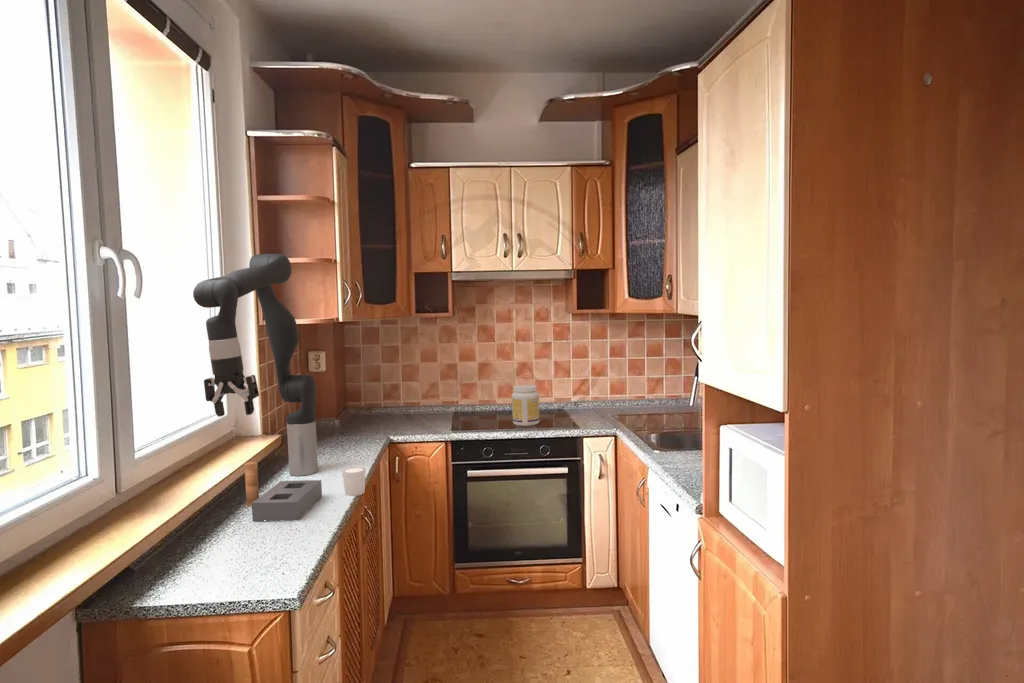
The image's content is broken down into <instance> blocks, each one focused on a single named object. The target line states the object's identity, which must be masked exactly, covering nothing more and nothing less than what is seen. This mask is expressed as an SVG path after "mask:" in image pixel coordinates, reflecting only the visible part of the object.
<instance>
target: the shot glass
mask: <svg viewBox="0 0 1024 683" xmlns="http://www.w3.org/2000/svg"><path fill="white" fill-rule="evenodd" d="M366 470H367V469H366V468H364V467H356V466H355V467H349V468H345V469H343V470H342V471H341V474H342V479H343V480H342V481H343V486H344V492H345V495H346V496H349V497H355V496H361V495H363V494H364V493H365V490H366Z"/></svg>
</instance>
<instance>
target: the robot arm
mask: <svg viewBox="0 0 1024 683" xmlns="http://www.w3.org/2000/svg"><path fill="white" fill-rule="evenodd" d="M291 275H292V264H291V260H290V259H289V258H288V257H287V256H286V255H284V254H280V253H262V254H261V253H260V254H259V253H258V254H253V255H252V256H251V257H250V258H249V266H248V267H247V268H246V267H245V268H241V269H236V270H235V271H231V272H229V273H227V274H225V275H221V276H217V277H212V278H209V279H208V278H207V279H204V280H201V281H200V282H198V283H196V285H195V287H194V289H193V292H192V296H193V299H194V301H195V303H196V304H197V305H198V306H200V307H202V308H205V309H210V308H219V311H218V313H217V315H215V316H211V317H209V318H207V320H206V321H205V326H206V327H205V328H206V333H207V338H208V352H209V358H210V363H211V370H212V374H213V376H214V378H213V377H208V378H205V379H203V386H204V393H205V394H204V396H205V400H206V401H207V402H211V403H213V406H214V412H215V414H216V416H217V417H223V416H225V414H226V413H225V407H224V402H223V401H222V400H223V398H224V397H225V395H227V394H234V395H235V394H237V396H239V397H240V398H242V400H243V401H244V402H243V404H244V410H245V415H246V416H250V415H253V413H254V411H255V407H254V406H255V405H254V399H256V398H257V397H259V396H260V392H259V387H258V382H257V378H256V375H255V374H251V375H248V376H245V375H244V365H243V364H244V363H243V357H242V352H241V346H240V345H241V344H240V341H239V337H238V332H237V326H236V317H237V307H238V301H239V299H240V298H241V297H244V296H245V295H248V294H250V293H252V292H254V291H255V292H256V295H257V298H258V301H259V304H260V308H261V311H262V315H263V319H264V323H265V330H266V333H267V337H268V338H267V339H268V341H269V345H270V349H271V353H272V356H273V360H274V364H275V372H276V378H277V384H278V391H279V395H280V397H281V399H282V401H283V402H285V403H301V406H300V408H299V409H297V410H296V411H293V412H290V413H288V414H287V415H286V434H287V451H288V452H287V453H288V469H289V472H288V473H289V475H290V476H296V477H297V476H300V477H301V476H310V475H313V474H316V473H318V471H319V465H318V464H319V463H318V461H319V460H318V443H317V442H318V441H317V424H316V423H317V422H316V413H317V403H316V402H317V399H316V395H317V393H316V392H317V390H316V388H317V387H316V382H315V379H314V376H313V375H311V374H293V373H292V372H291V371H292V370H291V360H292V357H293V356H294V354H295V351H296V349H297V347H298V346H299V345H298V344H299V341H300V335H299V330H298V324H297V321H296V319H295V317H294V315H293V314H292V313H291V311H290V310H289V309H288V308H287V306H285V305H284V304H283V303H282V302H281V300H279V298H278V297H277V295H276V293H275V292H274V289H273V287H272V285H281V284H283V283H284V284H285V283H286V282H287V281H288V280H289V279H290V277H291ZM245 384H246V385H245ZM215 386H216V388H217V389H216V390H215Z"/></svg>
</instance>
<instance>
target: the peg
mask: <svg viewBox="0 0 1024 683" xmlns="http://www.w3.org/2000/svg"><path fill="white" fill-rule="evenodd" d="M243 466H244V468H243V469H244V481H245V482H244V484H245V497H246V501H245V502H246V507H248V506H250V507H251V506H252V502H254V501H255V500H256V499H258V498H259V497H260V492H259V491H260V490H259V476H258V474H259V473H258V462H256V461H250V462H245V463H244V464H243ZM250 507H249V508H250ZM251 508H252V507H251Z"/></svg>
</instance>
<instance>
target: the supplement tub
mask: <svg viewBox="0 0 1024 683" xmlns="http://www.w3.org/2000/svg"><path fill="white" fill-rule="evenodd" d="M537 389H538V388H537V385H534V384H520V385H513V392H512V394H511V406H512V407H511V408H512V409H511V411H512V423H513V424H514V425H515V426H519V427H522V426H523V427H527V426H528V427H531V426H534V425H535V426H536V425H538V424H539V423H540V399H539V398H540V395H539V392H538V391H537Z"/></svg>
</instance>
